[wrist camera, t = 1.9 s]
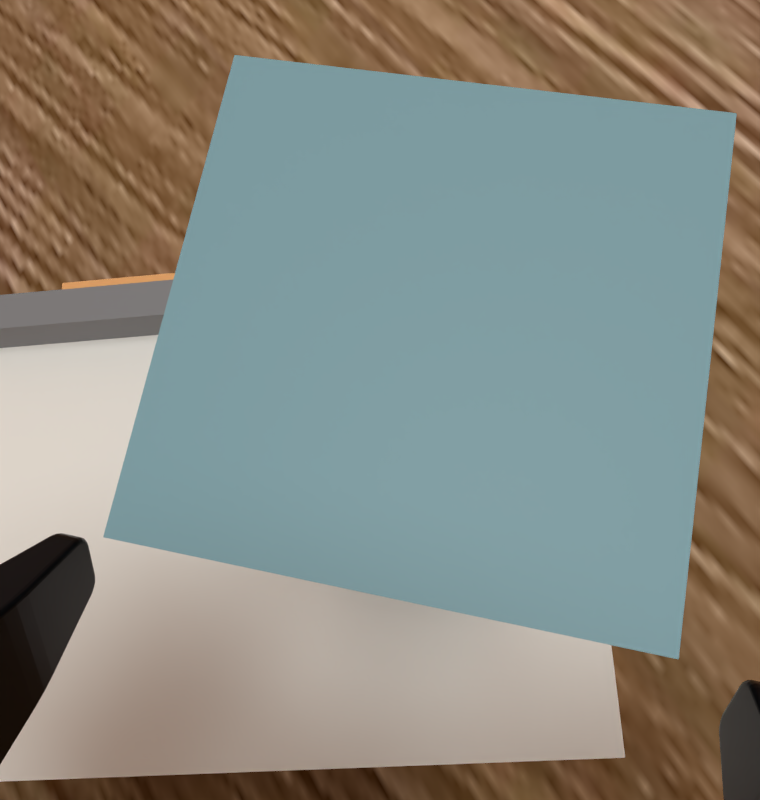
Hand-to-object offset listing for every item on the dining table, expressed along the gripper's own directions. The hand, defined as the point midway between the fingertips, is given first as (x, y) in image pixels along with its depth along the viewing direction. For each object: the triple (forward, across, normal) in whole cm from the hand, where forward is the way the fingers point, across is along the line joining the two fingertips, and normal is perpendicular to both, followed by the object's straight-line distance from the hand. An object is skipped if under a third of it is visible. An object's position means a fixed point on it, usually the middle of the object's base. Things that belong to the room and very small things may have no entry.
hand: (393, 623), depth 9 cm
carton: (+9, 0, +4) cm, 10 cm away
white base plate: (+8, +5, +7) cm, 11 cm away
